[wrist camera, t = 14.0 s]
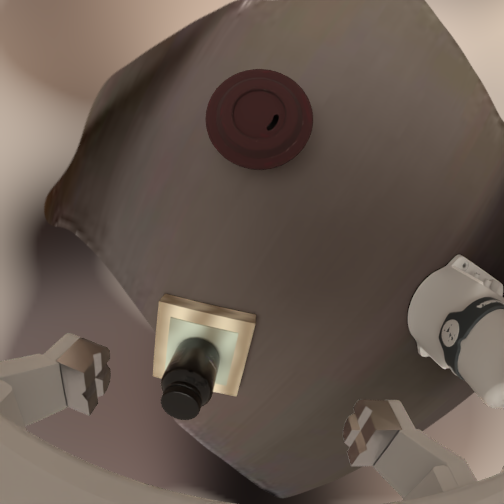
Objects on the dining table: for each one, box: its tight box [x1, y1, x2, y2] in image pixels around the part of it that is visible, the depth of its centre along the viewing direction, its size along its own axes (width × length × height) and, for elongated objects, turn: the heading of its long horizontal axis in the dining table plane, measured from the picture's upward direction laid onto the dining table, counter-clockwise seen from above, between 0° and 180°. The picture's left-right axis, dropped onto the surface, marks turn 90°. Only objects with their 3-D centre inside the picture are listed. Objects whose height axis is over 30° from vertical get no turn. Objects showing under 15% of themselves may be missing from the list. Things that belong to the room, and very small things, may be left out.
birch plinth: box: [153, 294, 256, 396], centre depth 45 cm, size 14×14×3 cm
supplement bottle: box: [161, 338, 220, 420], centre depth 38 cm, size 7×7×12 cm
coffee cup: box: [206, 69, 313, 170], centre depth 32 cm, size 10×10×15 cm
